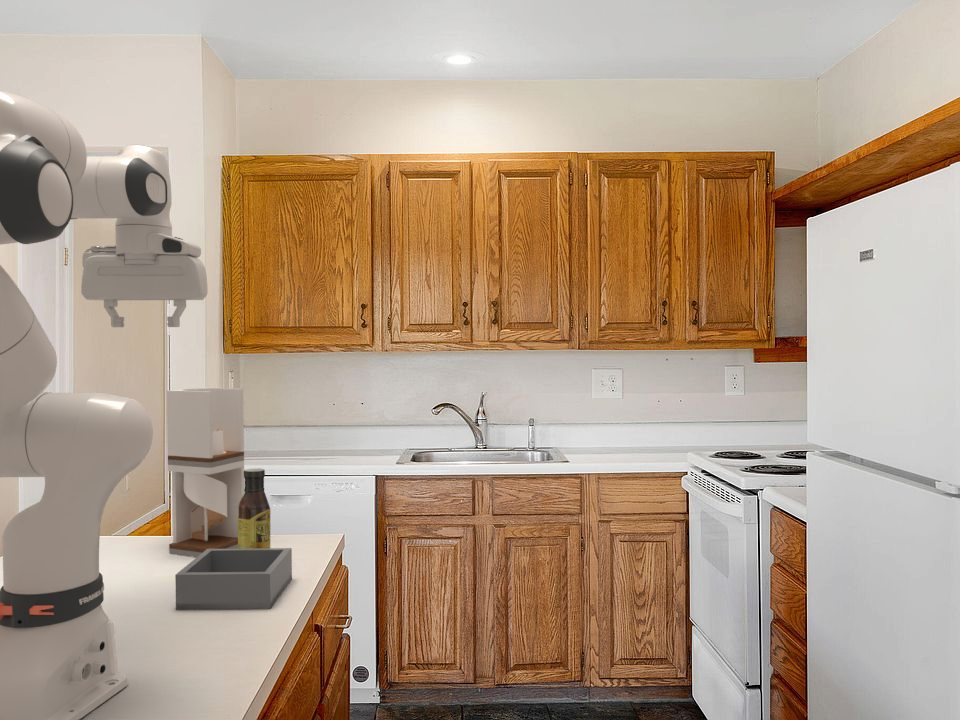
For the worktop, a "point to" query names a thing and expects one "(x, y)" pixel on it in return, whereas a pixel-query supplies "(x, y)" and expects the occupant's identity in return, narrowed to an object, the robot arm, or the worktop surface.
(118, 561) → the worktop surface
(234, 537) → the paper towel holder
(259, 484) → the sauce bottle
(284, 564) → the box
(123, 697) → the worktop surface
